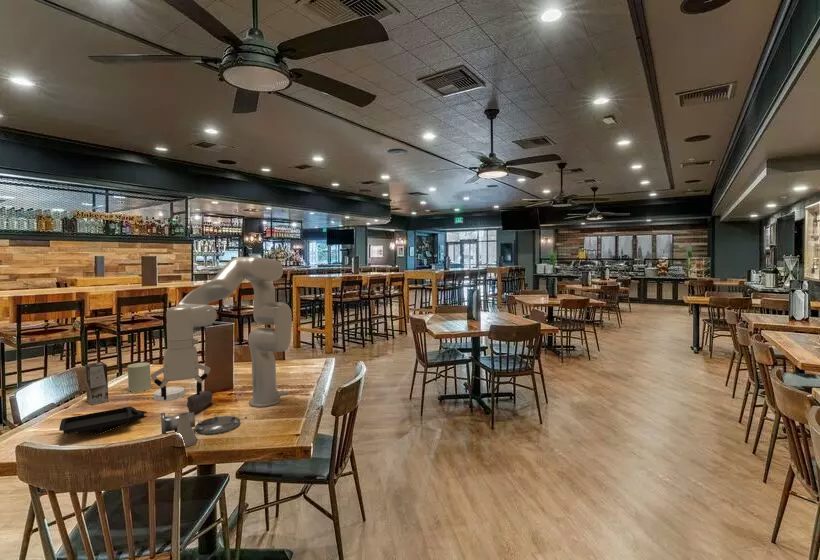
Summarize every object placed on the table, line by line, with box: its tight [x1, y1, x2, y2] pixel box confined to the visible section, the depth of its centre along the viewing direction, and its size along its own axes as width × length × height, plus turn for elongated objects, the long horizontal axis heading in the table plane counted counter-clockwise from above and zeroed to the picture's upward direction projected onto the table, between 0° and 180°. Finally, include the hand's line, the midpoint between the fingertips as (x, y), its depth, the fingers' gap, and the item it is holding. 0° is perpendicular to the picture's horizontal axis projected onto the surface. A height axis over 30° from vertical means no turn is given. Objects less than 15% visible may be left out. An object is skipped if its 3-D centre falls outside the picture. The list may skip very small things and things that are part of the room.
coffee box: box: [84, 361, 109, 406], centre depth 186 cm, size 9×6×16 cm
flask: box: [177, 411, 199, 448], centre depth 142 cm, size 7×7×10 cm
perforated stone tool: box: [186, 390, 213, 414], centre depth 175 cm, size 15×5×7 cm, turn 171°
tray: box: [58, 406, 148, 435], centre depth 157 cm, size 30×23×5 cm
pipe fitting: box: [160, 412, 241, 436], centre depth 154 cm, size 25×15×8 cm, turn 120°
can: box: [126, 362, 152, 393], centre depth 203 cm, size 9×9×12 cm
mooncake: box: [153, 385, 185, 402], centre depth 191 cm, size 12×12×4 cm
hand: (182, 396), depth 141 cm, fingers open, 9 cm apart
